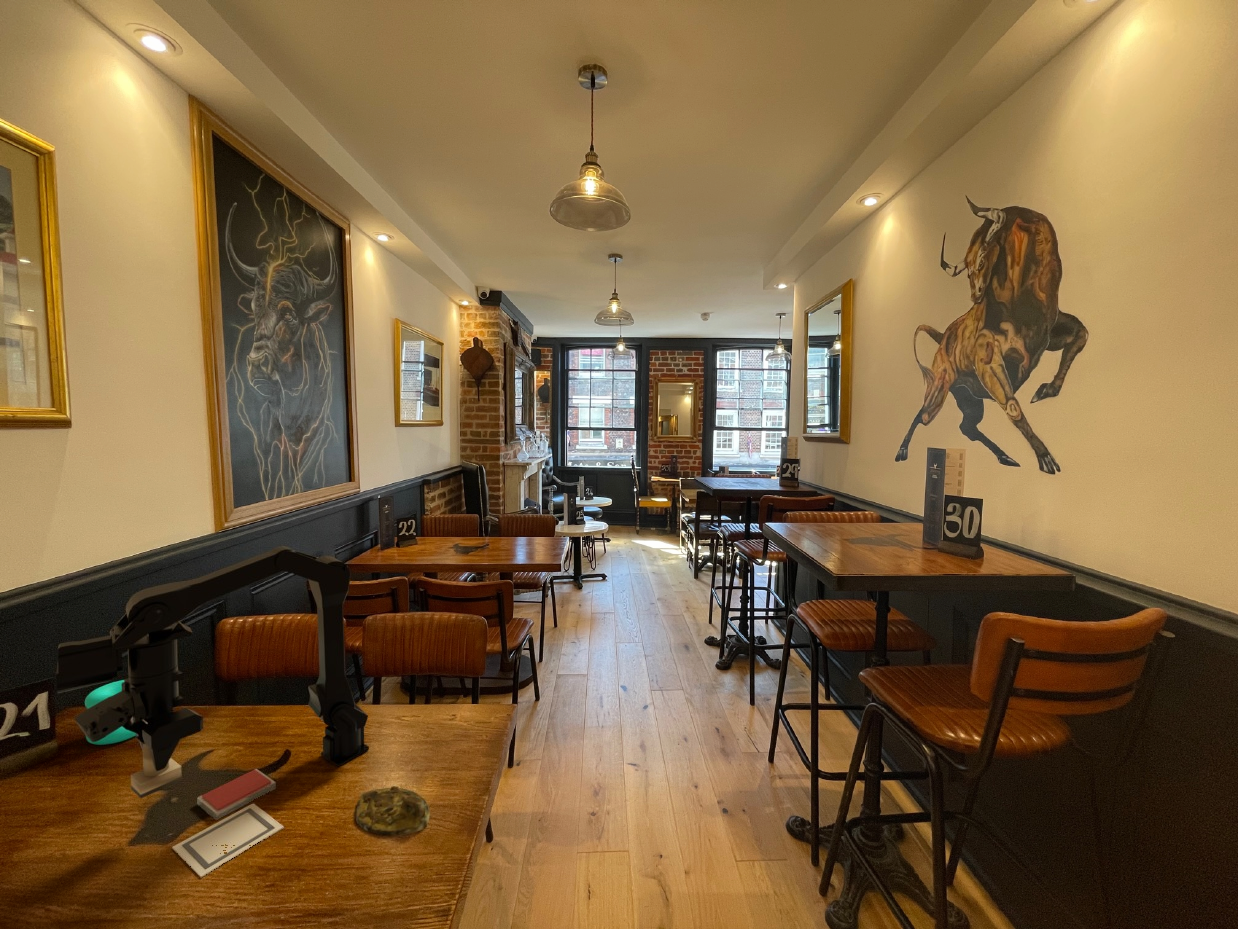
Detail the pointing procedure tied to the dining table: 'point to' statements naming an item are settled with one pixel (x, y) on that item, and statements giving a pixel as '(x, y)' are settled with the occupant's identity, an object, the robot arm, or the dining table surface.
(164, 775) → the stamp
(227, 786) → the ink pad
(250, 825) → the card
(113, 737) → the donuts
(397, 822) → the olive brown oval relief
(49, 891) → the dining table surface
